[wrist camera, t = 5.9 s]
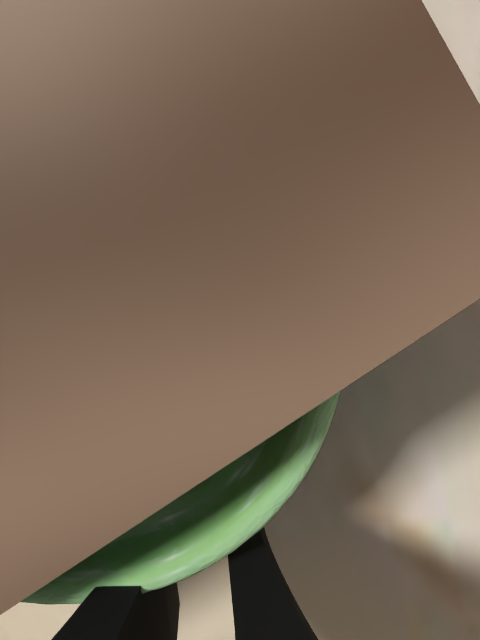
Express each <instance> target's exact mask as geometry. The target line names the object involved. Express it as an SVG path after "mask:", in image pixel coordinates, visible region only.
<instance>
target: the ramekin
mask: <svg viewBox="0 0 480 640" xmlns="http://www.w3.org/2000/svg"><path fill="white" fill-rule="evenodd" d="M340 392H341V391H339V392H338V393H336V394H334V395H333V396H331V397H330V398H328V399H327V400H325V401H324V402H322V403H321V404H319V405H318V406H316V407H315V408H313V409H312V410H310V411H309V412H307V413H306V414H304V415H303V416H301V417H300V418H298V419H297V420H295V421H294V422H292V423H290V424H289V425H287V426H286V427H284V428H283V429H281V430H280V431H278V432H277V433H275V434H274V435H272V436H271V437H269V438H268V439H266V440H265V441H263V442H262V443H260V444H259V445H257V446H256V447H254V448H253V449H251V450H250V451H248V452H246V453H245V454H243V455H242V456H240V457H239V458H237V459H236V460H234V461H233V462H231V463H230V464H228V465H227V466H225V467H224V468H222V469H221V470H219V471H218V472H216V473H215V474H213V475H212V476H210V477H209V478H207V479H206V480H204V481H202V482H201V483H199V484H198V485H196V486H195V487H193V488H192V489H190V490H189V491H187V492H186V493H184V494H183V495H181V496H180V497H178V498H177V499H175V500H174V501H172V502H171V503H169V504H168V505H166V506H165V507H163V508H162V509H160V510H158V511H157V512H155V513H154V514H152V515H151V516H149V517H148V518H146V519H145V520H143V521H142V522H140V523H139V524H137V525H136V526H134V527H133V528H131V529H130V530H128V531H127V532H125V533H124V534H122V535H121V536H119V537H118V538H116V539H114V540H113V541H111V542H110V543H108V544H107V545H105V546H104V547H102V548H101V549H99V550H98V551H96V552H95V553H93V554H92V555H90V556H89V557H87V558H86V559H84V560H83V561H81V562H80V563H78V564H77V565H75V566H74V567H72V568H71V569H69V570H67V571H66V572H64V573H63V574H61V575H60V576H58V577H57V578H55V579H54V580H52V581H51V582H49V583H48V584H46V585H45V586H43V587H42V588H40V589H39V590H37V591H36V592H34V593H33V594H31V595H30V596H28V597H27V598H25V599H23V600H22V601H20V602H27V603H37V604H77V603H82V602H83V601H84V600H85V598H86V597H87V596H88V594H89V593H90V592H91V591H92V590H93V589H94V588H95V587H99V586H141V592H142V594H144V593H146V592H149V591H151V590H156V589H159V588H162V587H165V586H168V585H171V584H173V583H176V582H179V581H181V580H183V579H185V578H188V577H190V576H192V575H194V574H196V573H198V572H200V571H202V570H203V569H205V568H207V567H209V566H211V565H212V564H214V563H216V562H217V561H219V560H221V559H223V558H224V557H226V556H227V555H229V554H230V553H232V552H233V551H234V550H236V549H237V548H238V547H239V546H241V545H242V544H243V543H244V542H246V541H247V540H248V539H249V538H251V537H252V536H253V535H254V534H256V533H257V532H258V531H259V530H261V529H262V528H263V527H264V526H265V525H266V524H267V523H268V522H269V521H270V520H271V519H272V518H273V517H274V516H275V514H276V513H277V512H278V511H279V510H280V509H281V508H282V506H283V505H284V504H285V503H286V502H287V500H288V499H289V498H290V497H291V496H292V494H293V493H294V492H295V491H296V489H297V488H298V486H299V485H300V483H301V482H302V481H303V479H304V477H305V476H306V474H307V472H308V471H309V469H310V468H311V466H312V464H313V462H314V460H315V458H316V456H317V454H318V452H319V450H320V449H321V447H322V444H323V442H324V439H325V437H326V434H327V432H328V430H329V427H330V424H331V421H332V418H333V415H334V412H335V409H336V406H337V403H338V399H339V395H340Z"/></svg>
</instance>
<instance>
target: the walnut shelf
mask: <svg viewBox="0 0 480 640" xmlns="http://www.w3.org/2000/svg"><path fill="white" fill-rule="evenodd" d="M479 299H480V104H479V103H478V101H477V99H476V97H475V95H474V94H473V92H472V90H471V88H470V86H469V85H468V83H467V81H466V79H465V78H464V76H463V74H462V72H461V70H460V69H459V67H458V65H457V63H456V61H455V60H454V58H453V56H452V54H451V52H450V51H449V49H448V47H447V45H446V43H445V42H444V40H443V38H442V36H441V34H440V33H439V31H438V29H437V27H436V26H435V24H434V22H433V20H432V18H431V17H430V15H429V13H428V11H427V9H426V8H425V6H424V4H423V2H422V0H0V615H1V614H2V613H4V612H5V611H7V610H8V609H10V608H11V607H13V606H14V605H16V604H17V603H19V602H20V601H22V600H23V599H25V598H27V597H28V596H30V595H31V594H33V593H34V592H36V591H37V590H39V589H40V588H42V587H43V586H45V585H46V584H48V583H49V582H51V581H52V580H54V579H55V578H57V577H58V576H60V575H61V574H63V573H64V572H66V571H67V570H69V569H71V568H72V567H74V566H75V565H77V564H78V563H80V562H81V561H83V560H84V559H86V558H87V557H89V556H90V555H92V554H93V553H95V552H96V551H98V550H99V549H101V548H102V547H104V546H105V545H107V544H108V543H110V542H111V541H113V540H114V539H116V538H118V537H119V536H121V535H122V534H124V533H125V532H127V531H128V530H130V529H131V528H133V527H134V526H136V525H137V524H139V523H140V522H142V521H143V520H145V519H146V518H148V517H149V516H151V515H152V514H154V513H155V512H157V511H158V510H160V509H162V508H163V507H165V506H166V505H168V504H169V503H171V502H172V501H174V500H175V499H177V498H178V497H180V496H181V495H183V494H184V493H186V492H187V491H189V490H190V489H192V488H193V487H195V486H196V485H198V484H199V483H201V482H202V481H204V480H206V479H207V478H209V477H210V476H212V475H213V474H215V473H216V472H218V471H219V470H221V469H222V468H224V467H225V466H227V465H228V464H230V463H231V462H233V461H234V460H236V459H237V458H239V457H240V456H242V455H243V454H245V453H246V452H248V451H250V450H251V449H253V448H254V447H256V446H257V445H259V444H260V443H262V442H263V441H265V440H266V439H268V438H269V437H271V436H272V435H274V434H275V433H277V432H278V431H280V430H281V429H283V428H284V427H286V426H287V425H289V424H290V423H292V422H294V421H295V420H297V419H298V418H300V417H301V416H303V415H304V414H306V413H307V412H309V411H310V410H312V409H313V408H315V407H316V406H318V405H319V404H321V403H322V402H324V401H325V400H327V399H328V398H330V397H331V396H333V395H334V394H336V393H338V392H339V391H341V390H342V389H344V388H345V387H347V386H348V385H350V384H351V383H353V382H354V381H356V380H357V379H359V378H360V377H362V376H363V375H365V374H366V373H368V372H369V371H371V370H372V369H374V368H375V367H377V366H378V365H380V364H381V363H383V362H385V361H386V360H388V359H389V358H391V357H392V356H394V355H395V354H397V353H398V352H400V351H401V350H403V349H404V348H406V347H407V346H409V345H410V344H412V343H413V342H415V341H416V340H418V339H419V338H421V337H422V336H424V335H425V334H427V333H429V332H430V331H432V330H433V329H435V328H436V327H438V326H439V325H441V324H442V323H444V322H445V321H447V320H448V319H450V318H451V317H453V316H454V315H456V314H457V313H459V312H460V311H462V310H463V309H465V308H466V307H468V306H469V305H471V304H473V303H474V302H476V301H477V300H479Z"/></svg>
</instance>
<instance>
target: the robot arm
mask: <svg viewBox="0 0 480 640" xmlns="http://www.w3.org/2000/svg"><path fill="white" fill-rule="evenodd" d="M228 562H229V572H230V583H231V593H232V604H233V614H234V625H235V640H318V639H317V637H316V635H315V634H314V632H313V630H312V629H311V627H310V625H309V623H308V622H307V620H306V618H305V617H304V615H303V613H302V611H301V610H300V608H299V606H298V604H297V602H296V600H295V598H294V597H293V595H292V593H291V591H290V589H289V587H288V585H287V583H286V581H285V579H284V577H283V575H282V573H281V571H280V569H279V566H278V564H277V562H276V559H275V557H274V555H273V552H272V550H271V547H270V545H269V542H268V539H267V536H266V533H265V529H264V527H263V528H262V529H261V530H259V531H258V532H257V533H256V534H254V535H253V536H252V537H251V538H249V539H248V540H247V541H246V542H244V543H243V544H242V545H241V546H239V547H238V548H237V549H236V550H234V551H233V552H232V553H230V554H229V555H228ZM179 606H180V602H179V595H178V588H177V582H176V583H173V584H171V585H168V586H165V587H162V588H159V589H156V590H151V591H149V592H146V593H144V594H142V592H141V586H99V587H95V588H94V589H93V590H92V591H91V592H90V593H89V594H88V596H87V597H86V598H85V600H84V601H83V602H82V603H81V605H80V606H79V607H78V609H77V610H76V611H75V612H74V614H73V615H72V616H71V617H70V618H69V620H68V621H67V622H66V623H65V624H64V626H63V627H62V628H61V629H60V630H59V631H58V633H57V634H56V635H55V636H54V637H53V639H52V640H177V631H178V619H179Z"/></svg>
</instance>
